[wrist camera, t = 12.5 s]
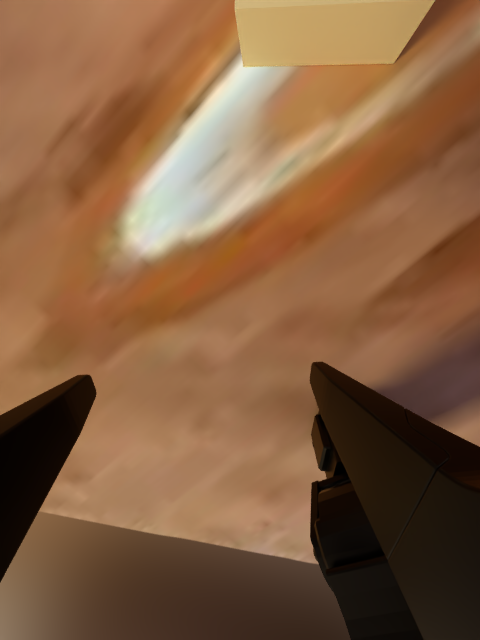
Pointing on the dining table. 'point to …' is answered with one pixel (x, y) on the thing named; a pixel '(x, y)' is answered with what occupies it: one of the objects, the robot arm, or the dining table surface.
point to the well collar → (326, 30)
